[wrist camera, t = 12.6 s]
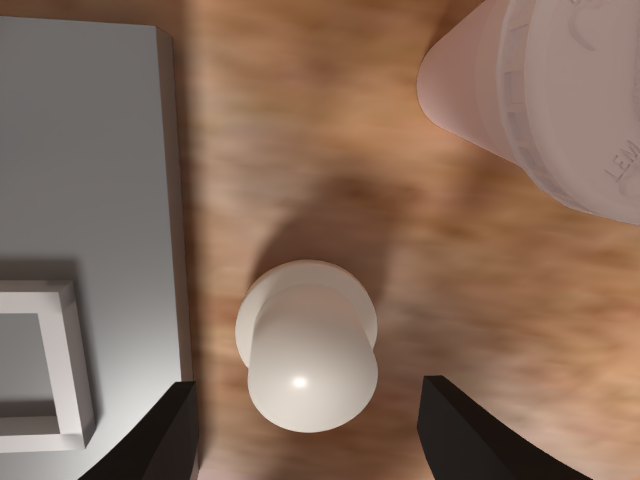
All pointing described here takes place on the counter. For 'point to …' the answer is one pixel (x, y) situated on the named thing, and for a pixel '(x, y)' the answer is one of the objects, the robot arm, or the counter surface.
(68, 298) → the socket block
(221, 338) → the counter surface
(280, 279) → the plug
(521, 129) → the smoothie
